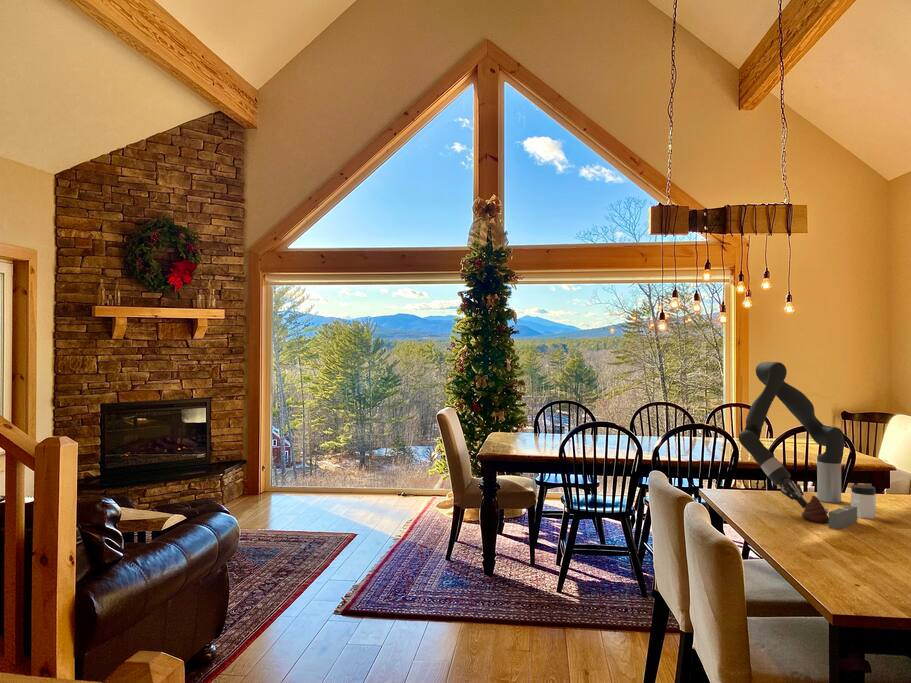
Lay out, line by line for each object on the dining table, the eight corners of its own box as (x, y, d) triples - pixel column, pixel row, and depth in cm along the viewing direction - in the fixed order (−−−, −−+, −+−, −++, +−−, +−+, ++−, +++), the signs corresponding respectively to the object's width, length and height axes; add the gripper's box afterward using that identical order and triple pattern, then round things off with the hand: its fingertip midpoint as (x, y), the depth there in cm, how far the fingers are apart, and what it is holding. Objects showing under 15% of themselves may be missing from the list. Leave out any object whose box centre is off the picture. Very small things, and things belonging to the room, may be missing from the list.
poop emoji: (796, 517, 249) (796, 494, 249) (813, 516, 252) (813, 493, 252) (817, 524, 240) (817, 499, 240) (835, 522, 242) (835, 498, 242)
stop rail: (848, 520, 245) (848, 504, 245) (857, 522, 243) (857, 506, 243) (828, 527, 234) (828, 511, 235) (837, 529, 232) (837, 512, 232)
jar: (845, 514, 256) (845, 484, 256) (860, 512, 258) (860, 483, 258) (865, 519, 247) (865, 489, 247) (881, 518, 250) (881, 488, 250)
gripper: (774, 467, 253) (805, 503, 243) (789, 464, 261) (820, 499, 251) (761, 478, 257) (791, 514, 247) (776, 474, 265) (806, 509, 255)
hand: (806, 506), depth 249 cm, fingers closed
